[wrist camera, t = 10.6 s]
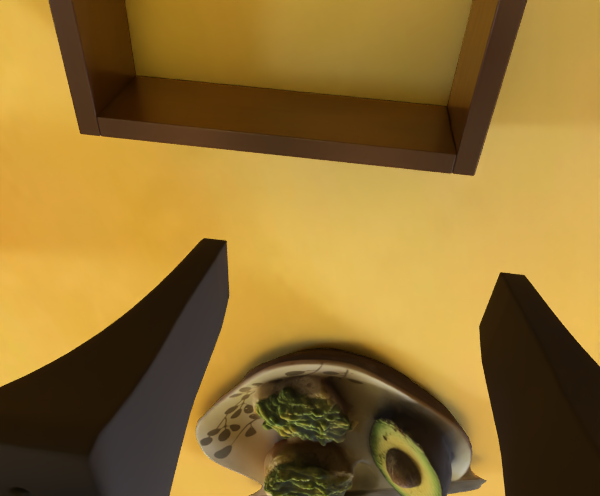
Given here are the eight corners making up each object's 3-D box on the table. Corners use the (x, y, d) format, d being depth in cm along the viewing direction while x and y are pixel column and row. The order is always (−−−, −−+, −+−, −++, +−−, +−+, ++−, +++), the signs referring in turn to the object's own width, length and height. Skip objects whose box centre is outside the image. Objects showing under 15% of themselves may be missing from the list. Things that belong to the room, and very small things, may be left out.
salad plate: (327, 522, 46) (322, 580, 43) (152, 432, 41) (130, 491, 37) (516, 447, 36) (531, 517, 32) (318, 311, 30) (309, 377, 26)
